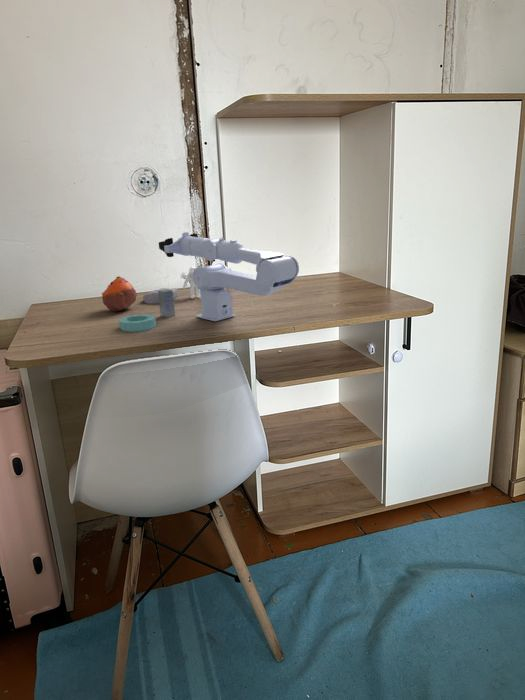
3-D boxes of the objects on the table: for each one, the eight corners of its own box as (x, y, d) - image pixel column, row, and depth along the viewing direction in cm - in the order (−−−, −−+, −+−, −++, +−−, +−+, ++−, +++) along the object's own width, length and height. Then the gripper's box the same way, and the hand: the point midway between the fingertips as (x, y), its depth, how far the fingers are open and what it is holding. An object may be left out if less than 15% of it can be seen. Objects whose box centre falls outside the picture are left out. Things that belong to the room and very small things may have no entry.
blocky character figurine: (207, 295, 196) (204, 262, 192) (208, 297, 192) (205, 263, 188) (182, 297, 194) (179, 264, 191) (183, 299, 191) (179, 265, 187)
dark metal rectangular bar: (175, 315, 168) (172, 290, 166) (166, 317, 166) (163, 292, 164) (169, 314, 171) (166, 289, 168) (160, 316, 169) (157, 291, 166)
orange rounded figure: (126, 315, 172) (122, 279, 169) (97, 314, 175) (92, 279, 172) (143, 306, 184) (139, 272, 180) (115, 306, 186) (111, 273, 183)
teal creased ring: (162, 325, 157) (161, 317, 156) (132, 333, 151) (131, 324, 150) (144, 320, 164) (143, 312, 163) (114, 327, 158) (113, 319, 157)
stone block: (142, 309, 188) (168, 303, 186) (138, 295, 187) (164, 290, 185) (156, 302, 199) (180, 297, 197) (152, 290, 198) (177, 284, 196)
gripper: (213, 229, 166) (186, 227, 175) (175, 237, 156) (148, 234, 165) (215, 252, 168) (189, 249, 177) (178, 261, 159) (151, 257, 168)
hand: (169, 243), depth 171 cm, fingers open, 7 cm apart
